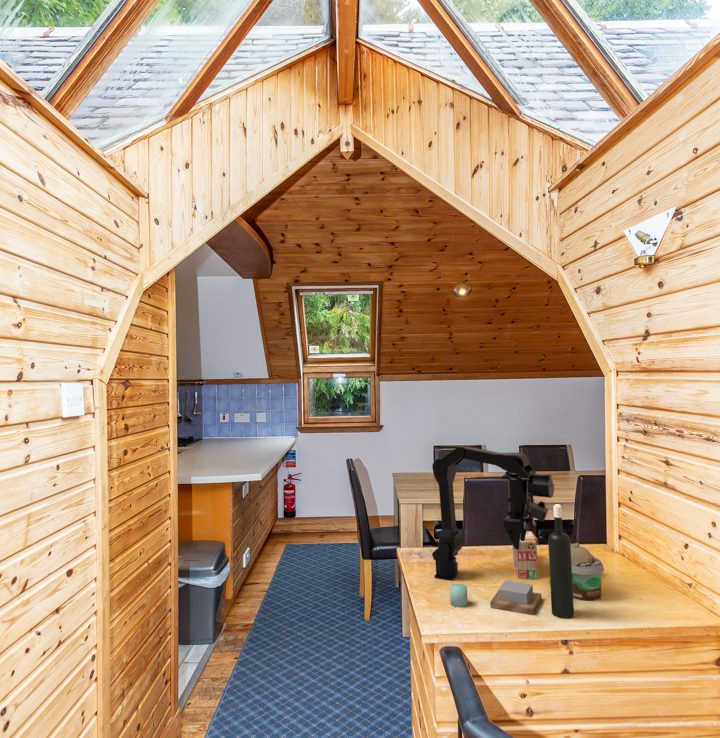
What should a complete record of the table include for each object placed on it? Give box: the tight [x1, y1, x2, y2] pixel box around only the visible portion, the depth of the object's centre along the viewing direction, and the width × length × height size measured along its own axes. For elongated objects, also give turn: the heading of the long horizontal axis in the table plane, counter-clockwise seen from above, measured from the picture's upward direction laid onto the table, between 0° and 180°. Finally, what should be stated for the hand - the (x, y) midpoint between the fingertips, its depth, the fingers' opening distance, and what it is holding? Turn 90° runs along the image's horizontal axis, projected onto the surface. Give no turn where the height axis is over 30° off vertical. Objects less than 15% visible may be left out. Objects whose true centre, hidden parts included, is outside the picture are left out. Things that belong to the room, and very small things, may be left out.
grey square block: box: [497, 579, 534, 605], centre depth 154 cm, size 8×8×3 cm
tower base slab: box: [490, 591, 543, 616], centre depth 153 cm, size 12×12×2 cm
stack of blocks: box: [511, 531, 539, 580], centre depth 183 cm, size 21×6×12 cm, turn 169°
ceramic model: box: [571, 542, 595, 566], centre depth 176 cm, size 14×11×10 cm
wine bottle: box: [547, 503, 575, 619], centre depth 146 cm, size 6×6×30 cm
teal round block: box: [449, 583, 469, 609], centre depth 155 cm, size 5×5×5 cm
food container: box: [572, 556, 605, 602], centre depth 156 cm, size 12×6×10 cm, turn 117°
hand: (519, 544), depth 163 cm, fingers open, 9 cm apart
